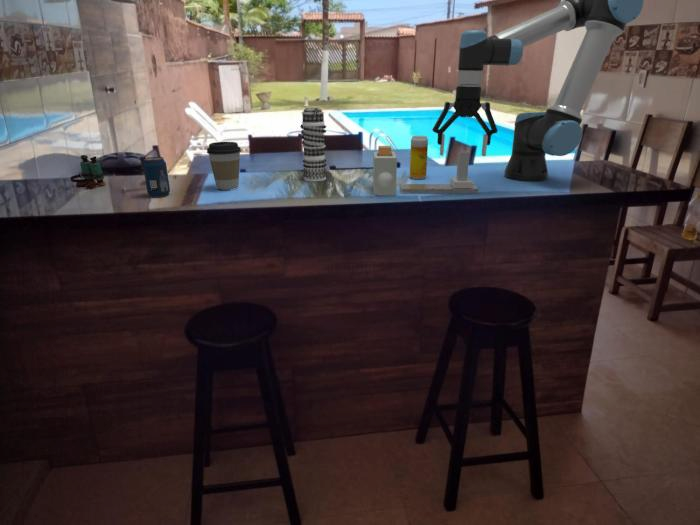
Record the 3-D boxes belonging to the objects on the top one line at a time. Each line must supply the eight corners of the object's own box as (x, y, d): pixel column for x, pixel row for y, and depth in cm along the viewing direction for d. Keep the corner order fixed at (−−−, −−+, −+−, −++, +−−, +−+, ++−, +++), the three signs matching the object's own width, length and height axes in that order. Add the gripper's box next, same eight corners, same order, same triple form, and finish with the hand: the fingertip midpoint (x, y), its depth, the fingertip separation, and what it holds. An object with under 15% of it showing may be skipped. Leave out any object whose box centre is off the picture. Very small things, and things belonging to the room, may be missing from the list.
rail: (473, 188, 169) (473, 183, 168) (478, 193, 162) (478, 188, 162) (399, 188, 169) (399, 184, 169) (401, 193, 163) (401, 189, 162)
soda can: (153, 192, 166) (147, 156, 161) (173, 192, 165) (168, 156, 161) (144, 198, 159) (138, 160, 155) (165, 198, 159) (160, 160, 154)
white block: (393, 186, 171) (394, 151, 167) (395, 195, 160) (397, 158, 155) (373, 186, 172) (373, 151, 167) (374, 195, 160) (374, 158, 156)
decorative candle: (318, 182, 178) (316, 109, 169) (297, 179, 183) (294, 108, 173) (332, 177, 185) (331, 107, 176) (312, 175, 190) (309, 106, 180)
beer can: (425, 180, 181) (427, 137, 175) (408, 179, 182) (410, 137, 176) (426, 176, 186) (428, 135, 181) (410, 175, 188) (411, 135, 182)
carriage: (468, 183, 168) (470, 150, 164) (472, 188, 162) (475, 154, 158) (450, 183, 168) (452, 150, 164) (453, 188, 162) (456, 154, 158)
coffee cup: (229, 182, 179) (224, 140, 173) (251, 186, 173) (247, 142, 167) (203, 189, 170) (198, 144, 164) (226, 193, 164) (221, 147, 158)
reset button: (390, 161, 164) (390, 145, 162) (391, 163, 160) (391, 147, 159) (378, 161, 164) (378, 145, 162) (378, 163, 161) (379, 147, 159)
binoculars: (60, 161, 167) (85, 153, 175) (69, 190, 172) (93, 182, 180) (78, 162, 164) (103, 154, 172) (87, 193, 169) (111, 184, 177)
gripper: (506, 85, 157) (498, 153, 164) (426, 84, 157) (422, 152, 165) (513, 86, 150) (504, 157, 157) (430, 85, 150) (425, 156, 158)
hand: (462, 155), depth 161 cm, fingers open, 13 cm apart
